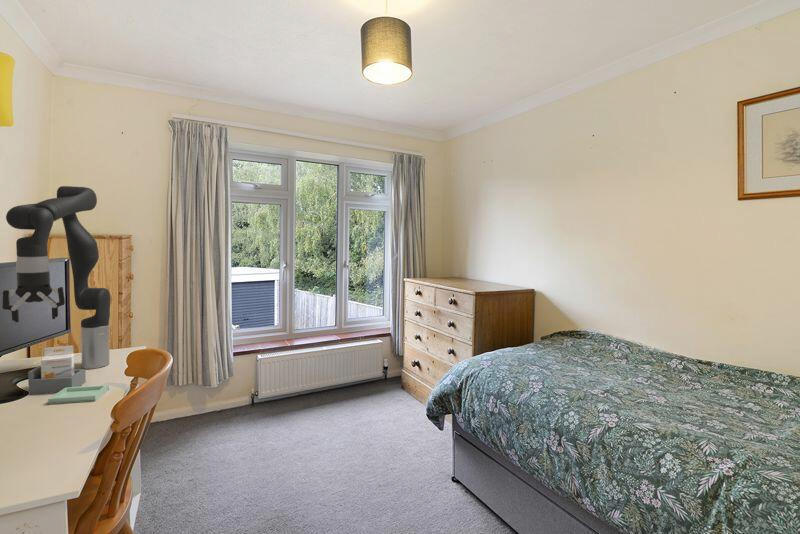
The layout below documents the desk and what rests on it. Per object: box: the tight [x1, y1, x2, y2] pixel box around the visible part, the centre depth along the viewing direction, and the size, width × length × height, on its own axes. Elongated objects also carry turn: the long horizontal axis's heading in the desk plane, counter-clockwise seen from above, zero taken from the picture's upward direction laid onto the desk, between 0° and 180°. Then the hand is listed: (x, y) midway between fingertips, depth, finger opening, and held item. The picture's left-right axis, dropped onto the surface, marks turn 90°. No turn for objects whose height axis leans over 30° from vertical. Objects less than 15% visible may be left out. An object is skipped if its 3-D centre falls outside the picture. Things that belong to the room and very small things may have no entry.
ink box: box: [40, 345, 75, 379], centre depth 136 cm, size 8×5×15 cm, turn 124°
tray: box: [47, 384, 110, 405], centre depth 130 cm, size 10×13×2 cm
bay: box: [27, 365, 87, 395], centre depth 136 cm, size 9×12×8 cm
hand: (35, 320), depth 122 cm, fingers open, 8 cm apart
